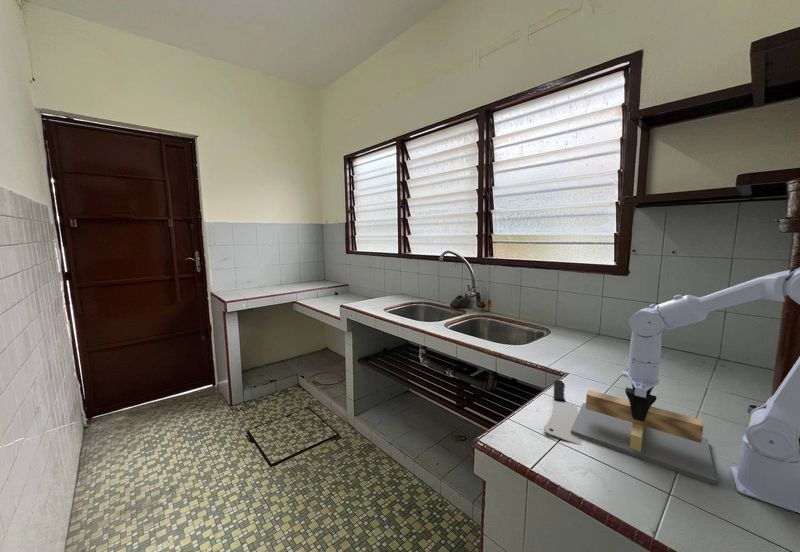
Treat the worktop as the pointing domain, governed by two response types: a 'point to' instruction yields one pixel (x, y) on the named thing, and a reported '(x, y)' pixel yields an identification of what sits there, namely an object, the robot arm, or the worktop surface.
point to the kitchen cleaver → (562, 416)
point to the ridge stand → (646, 444)
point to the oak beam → (654, 419)
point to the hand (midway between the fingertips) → (639, 412)
